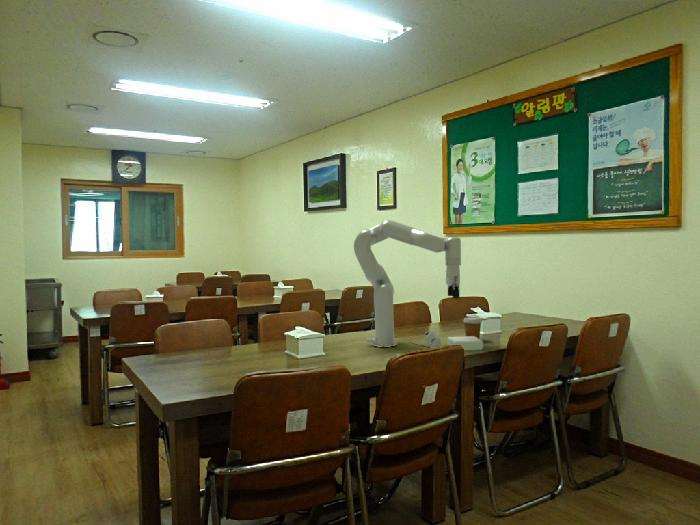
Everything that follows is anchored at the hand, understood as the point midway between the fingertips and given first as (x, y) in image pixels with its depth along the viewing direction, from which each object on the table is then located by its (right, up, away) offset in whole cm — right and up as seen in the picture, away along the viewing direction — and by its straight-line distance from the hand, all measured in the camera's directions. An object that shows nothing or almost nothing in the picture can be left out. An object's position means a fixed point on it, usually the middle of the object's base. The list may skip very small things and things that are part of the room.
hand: (453, 296), depth 264 cm
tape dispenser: (-11, -25, -6) cm, 28 cm away
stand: (+5, -25, -4) cm, 25 cm away
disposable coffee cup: (+12, -24, +12) cm, 29 cm away
